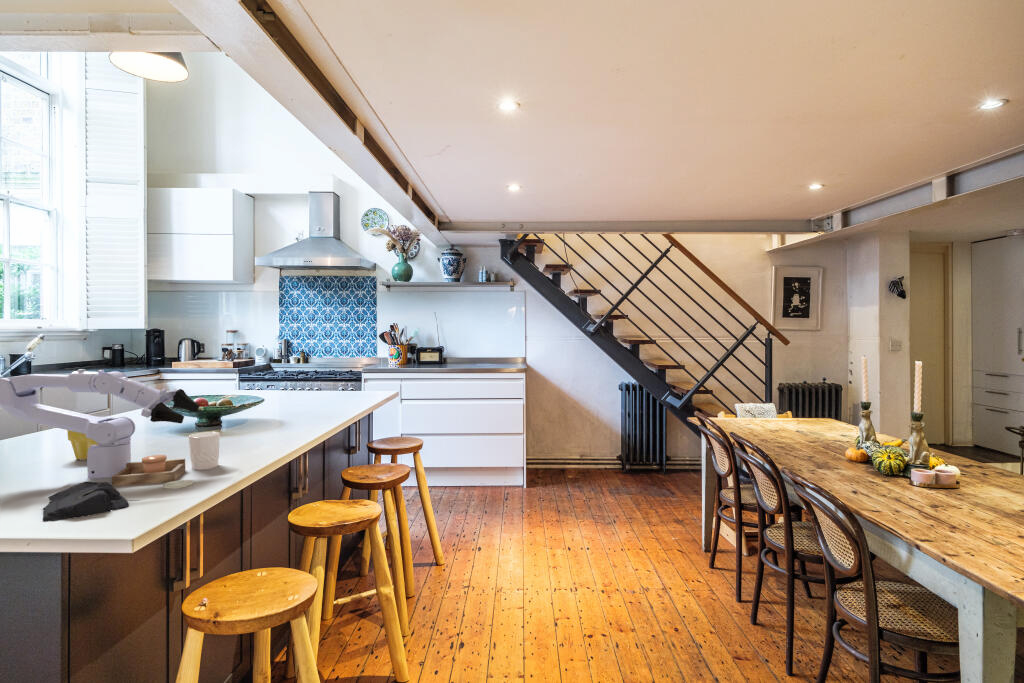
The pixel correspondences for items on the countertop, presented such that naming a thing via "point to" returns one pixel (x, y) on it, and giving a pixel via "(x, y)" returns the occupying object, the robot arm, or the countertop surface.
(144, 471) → the tan bell-shaped knob
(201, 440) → the white cup
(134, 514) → the countertop surface
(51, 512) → the dark slate chunk
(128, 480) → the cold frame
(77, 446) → the plant pot
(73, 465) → the countertop surface
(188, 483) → the saucer
